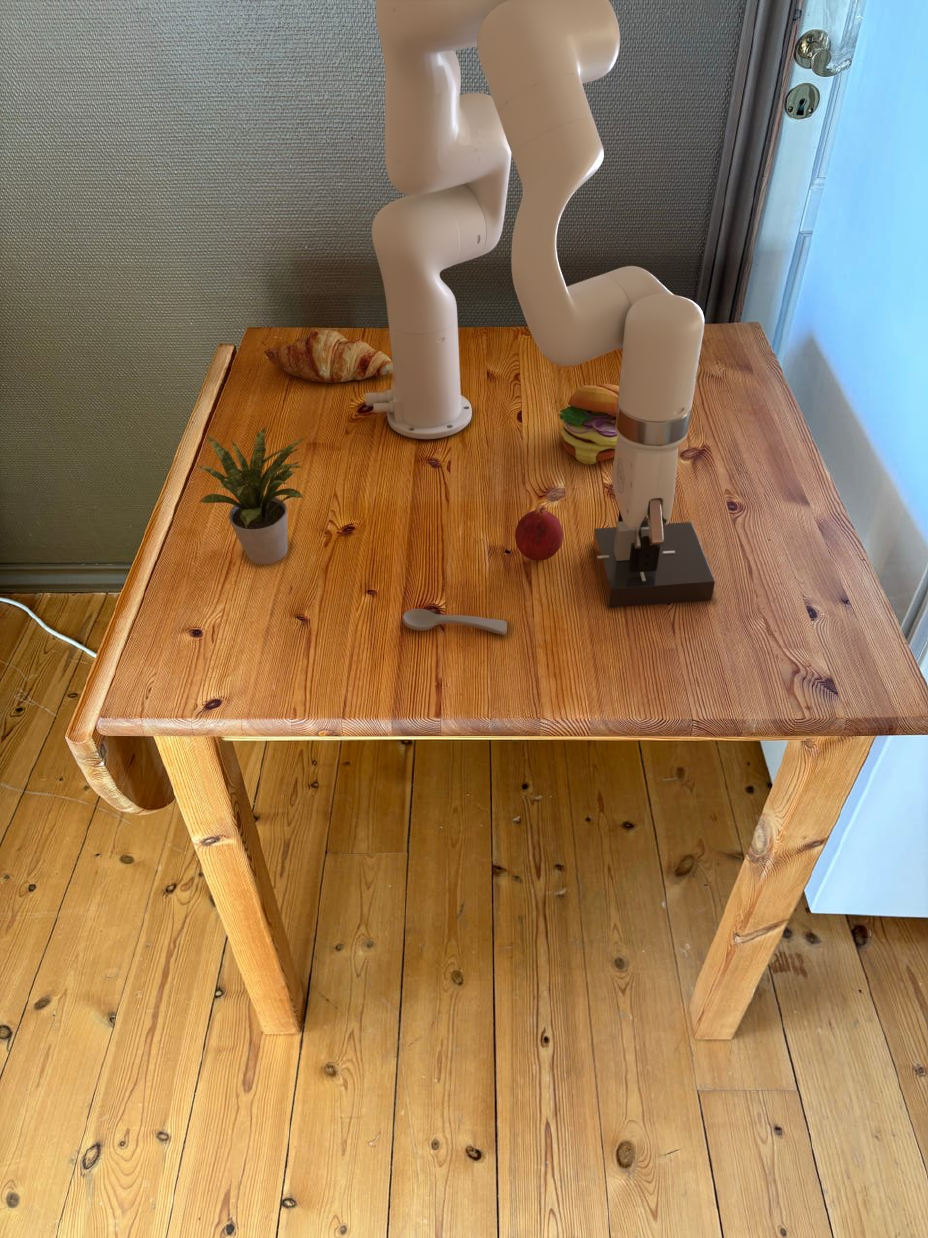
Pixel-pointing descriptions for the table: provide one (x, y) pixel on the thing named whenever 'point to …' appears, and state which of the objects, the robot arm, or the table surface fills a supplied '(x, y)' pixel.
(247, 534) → the house plant
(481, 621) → the spoon
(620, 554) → the knob
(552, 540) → the onion
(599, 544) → the dial base
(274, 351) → the croissant
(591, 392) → the cheeseburger
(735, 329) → the table surface
